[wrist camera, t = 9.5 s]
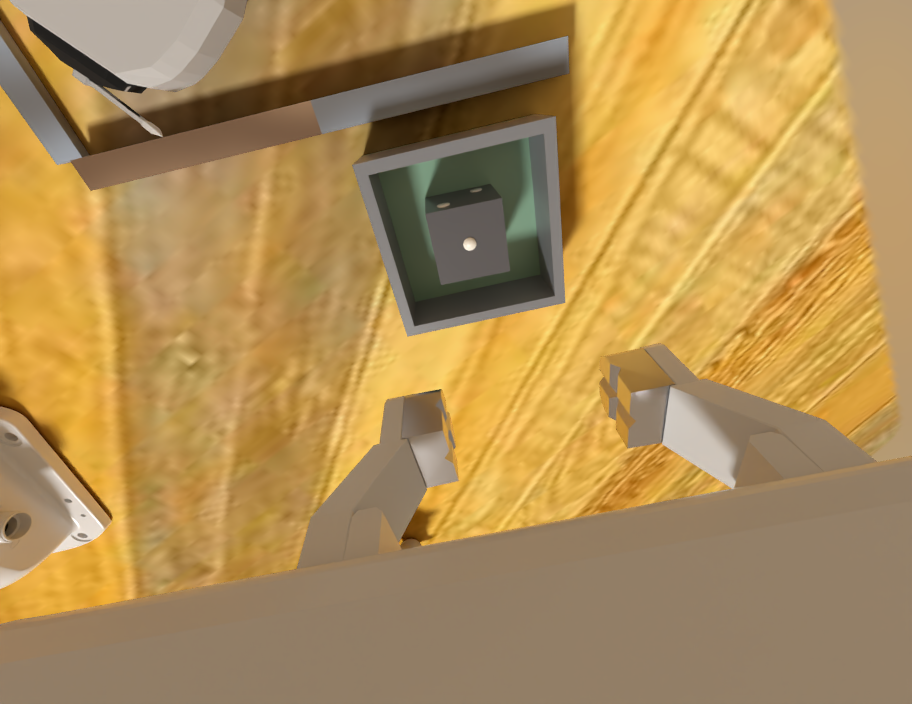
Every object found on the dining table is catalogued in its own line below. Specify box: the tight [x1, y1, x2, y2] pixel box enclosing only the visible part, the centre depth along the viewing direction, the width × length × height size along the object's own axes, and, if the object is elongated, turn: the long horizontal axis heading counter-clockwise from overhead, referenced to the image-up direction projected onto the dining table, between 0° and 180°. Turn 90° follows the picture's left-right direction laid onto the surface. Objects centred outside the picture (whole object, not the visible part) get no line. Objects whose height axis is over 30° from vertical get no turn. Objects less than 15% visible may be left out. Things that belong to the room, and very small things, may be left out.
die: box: [425, 184, 510, 285], centre depth 22 cm, size 4×4×4 cm
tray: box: [352, 114, 565, 336], centre depth 23 cm, size 10×10×4 cm
